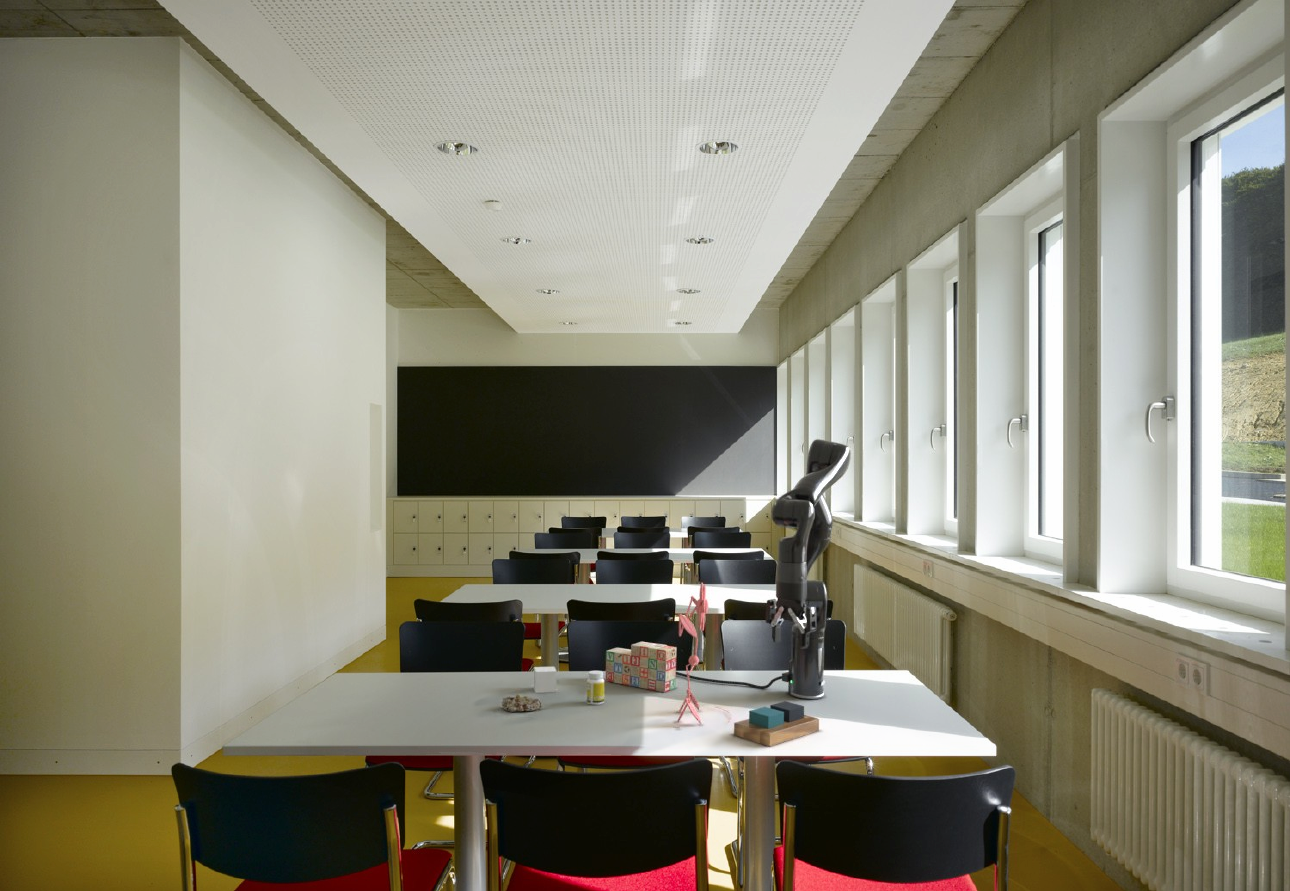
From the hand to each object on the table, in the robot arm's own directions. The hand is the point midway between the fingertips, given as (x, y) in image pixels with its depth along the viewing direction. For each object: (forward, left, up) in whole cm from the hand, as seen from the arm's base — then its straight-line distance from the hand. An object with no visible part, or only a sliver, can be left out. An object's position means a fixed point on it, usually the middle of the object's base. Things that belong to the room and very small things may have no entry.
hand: (790, 644), depth 214 cm
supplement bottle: (-51, -20, -22) cm, 59 cm away
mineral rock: (-59, -39, -22) cm, 74 cm away
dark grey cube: (-2, +2, -22) cm, 22 cm away
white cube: (-71, -23, -22) cm, 78 cm away
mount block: (-2, -2, -22) cm, 22 cm away
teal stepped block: (-2, -6, -22) cm, 23 cm away
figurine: (-22, -7, -22) cm, 32 cm away
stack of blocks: (-58, +3, -22) cm, 62 cm away
